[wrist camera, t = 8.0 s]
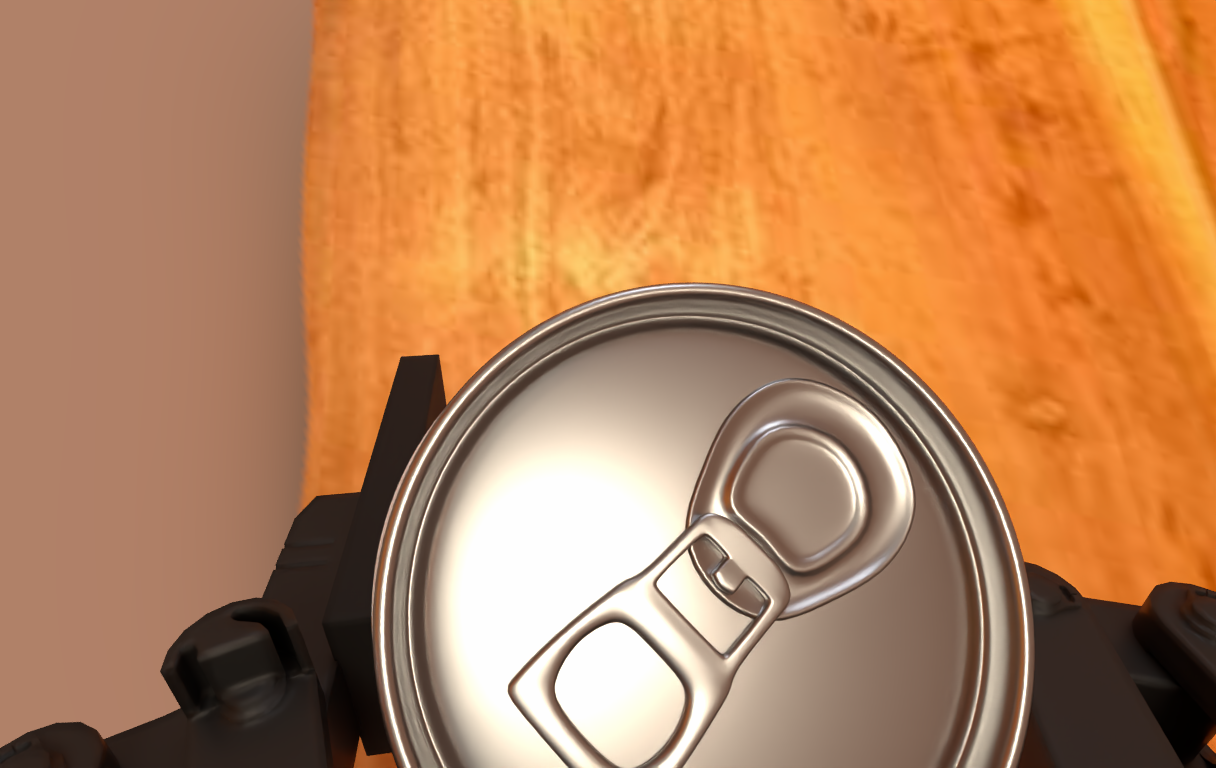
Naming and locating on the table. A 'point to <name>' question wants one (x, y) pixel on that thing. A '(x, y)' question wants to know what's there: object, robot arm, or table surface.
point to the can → (700, 554)
